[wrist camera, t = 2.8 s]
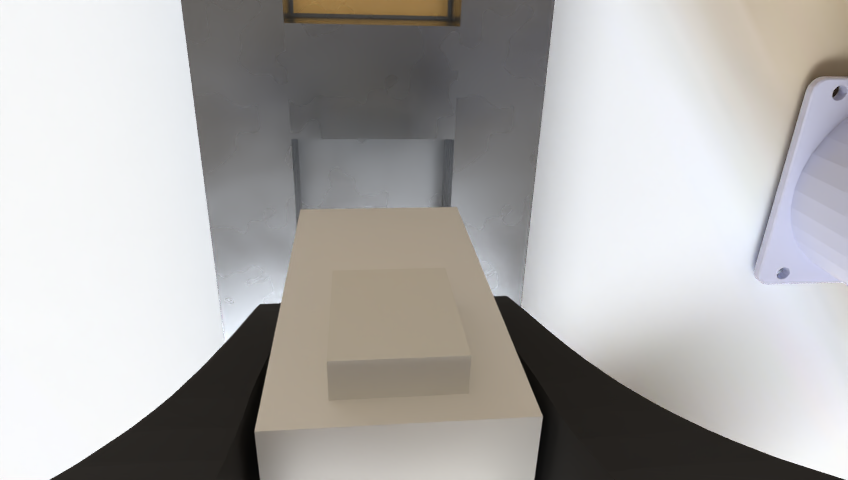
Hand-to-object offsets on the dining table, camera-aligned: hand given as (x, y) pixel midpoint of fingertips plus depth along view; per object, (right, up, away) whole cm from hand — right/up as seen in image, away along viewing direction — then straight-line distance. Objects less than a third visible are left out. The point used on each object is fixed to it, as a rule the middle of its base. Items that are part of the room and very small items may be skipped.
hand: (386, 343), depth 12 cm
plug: (0, +1, +3) cm, 3 cm away
